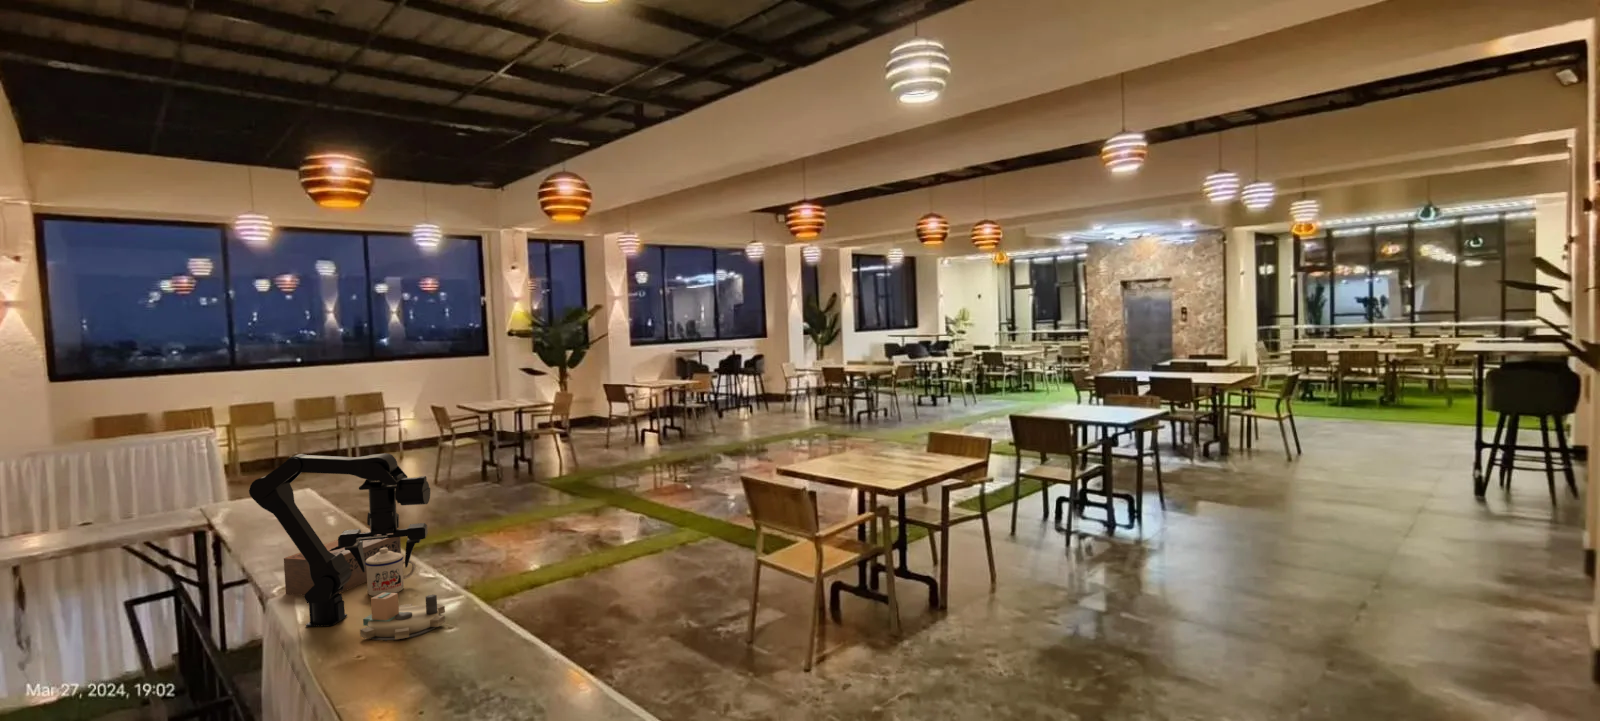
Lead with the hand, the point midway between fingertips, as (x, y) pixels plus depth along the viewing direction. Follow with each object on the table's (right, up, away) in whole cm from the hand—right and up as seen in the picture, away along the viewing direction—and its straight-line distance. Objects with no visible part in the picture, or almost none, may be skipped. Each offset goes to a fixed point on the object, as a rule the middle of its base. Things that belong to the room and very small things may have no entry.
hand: (385, 569), depth 189 cm
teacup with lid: (-9, -11, +20) cm, 25 cm away
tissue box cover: (-27, -11, +30) cm, 42 cm away
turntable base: (+8, -12, -6) cm, 15 cm away
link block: (+3, -10, -6) cm, 11 cm away
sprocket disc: (+8, -12, -6) cm, 15 cm away
